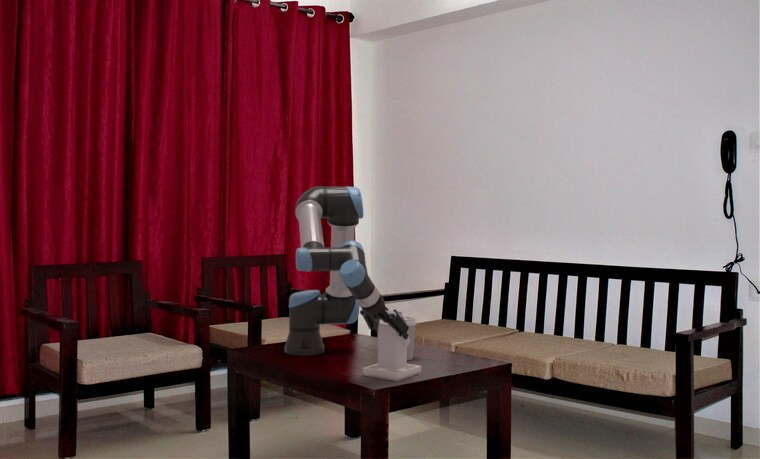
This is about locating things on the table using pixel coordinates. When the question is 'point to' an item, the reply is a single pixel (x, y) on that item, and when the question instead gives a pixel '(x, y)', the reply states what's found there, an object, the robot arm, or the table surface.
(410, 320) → the coffee cup
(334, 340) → the table surface
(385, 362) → the milk carton
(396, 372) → the ceramic tray
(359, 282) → the robot arm
